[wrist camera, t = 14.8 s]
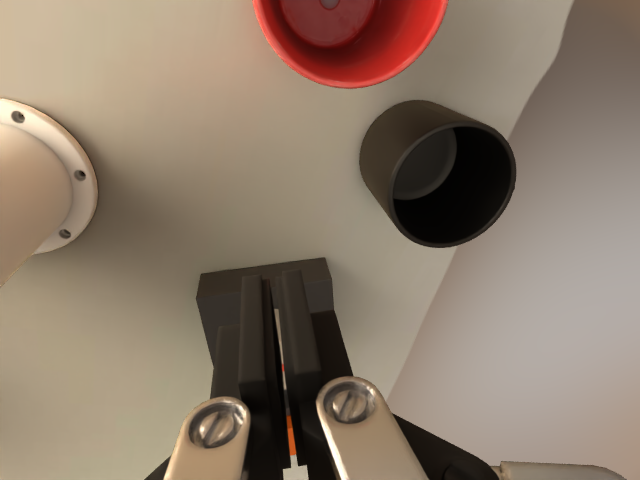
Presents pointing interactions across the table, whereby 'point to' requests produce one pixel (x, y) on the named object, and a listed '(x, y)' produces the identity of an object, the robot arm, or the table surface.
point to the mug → (437, 172)
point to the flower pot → (349, 36)
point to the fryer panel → (225, 290)
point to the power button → (291, 436)
